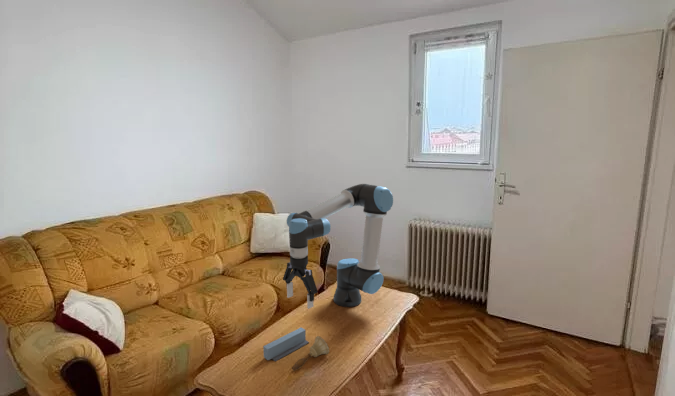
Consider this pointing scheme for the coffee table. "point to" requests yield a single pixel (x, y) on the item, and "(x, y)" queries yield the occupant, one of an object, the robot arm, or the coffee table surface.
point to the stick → (284, 343)
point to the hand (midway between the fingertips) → (300, 301)
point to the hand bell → (313, 352)
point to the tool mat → (290, 350)
